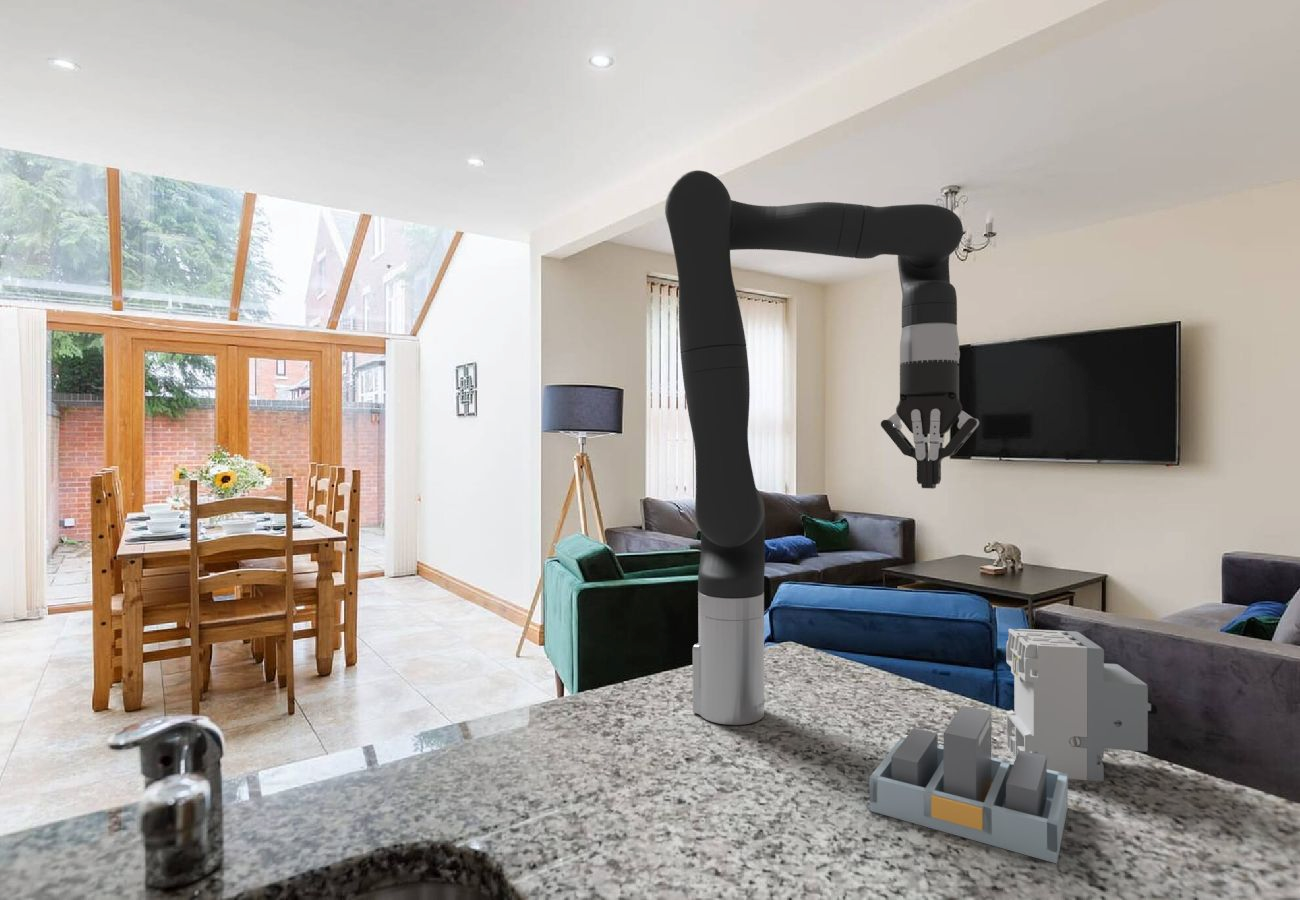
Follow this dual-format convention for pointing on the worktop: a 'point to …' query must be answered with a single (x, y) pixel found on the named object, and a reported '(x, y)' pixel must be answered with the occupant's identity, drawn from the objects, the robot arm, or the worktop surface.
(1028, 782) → the rack
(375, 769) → the worktop surface
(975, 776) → the rectangular block
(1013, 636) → the circuit breaker
